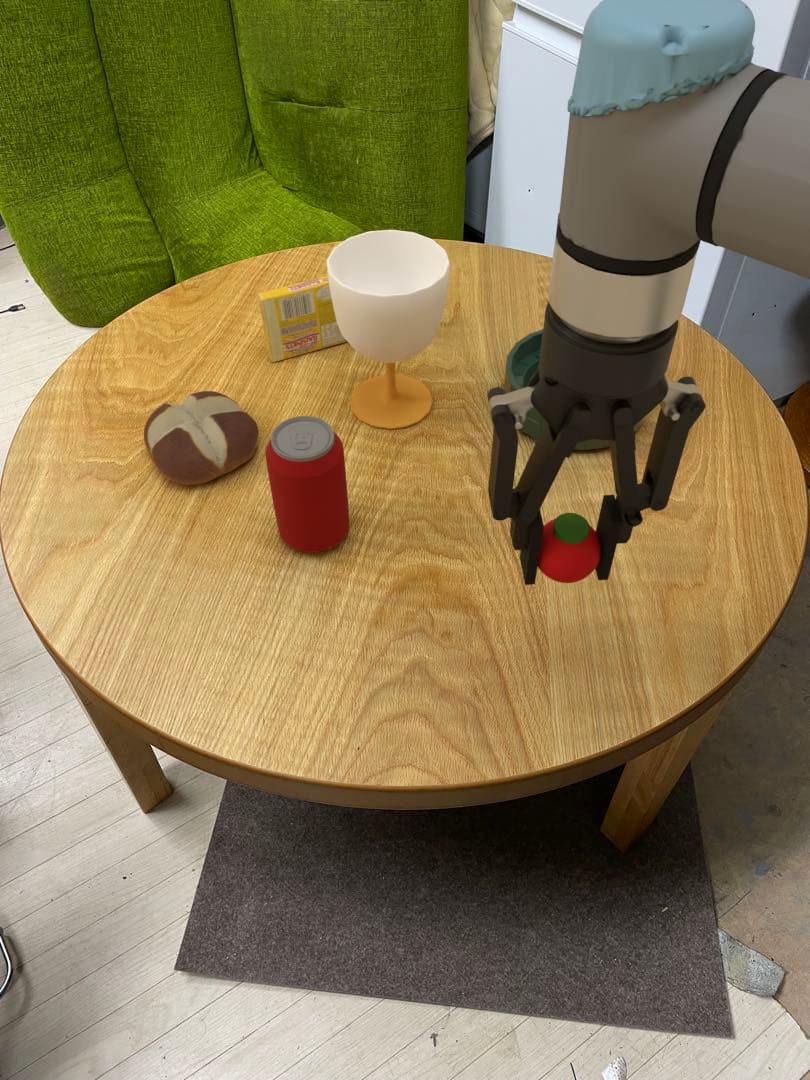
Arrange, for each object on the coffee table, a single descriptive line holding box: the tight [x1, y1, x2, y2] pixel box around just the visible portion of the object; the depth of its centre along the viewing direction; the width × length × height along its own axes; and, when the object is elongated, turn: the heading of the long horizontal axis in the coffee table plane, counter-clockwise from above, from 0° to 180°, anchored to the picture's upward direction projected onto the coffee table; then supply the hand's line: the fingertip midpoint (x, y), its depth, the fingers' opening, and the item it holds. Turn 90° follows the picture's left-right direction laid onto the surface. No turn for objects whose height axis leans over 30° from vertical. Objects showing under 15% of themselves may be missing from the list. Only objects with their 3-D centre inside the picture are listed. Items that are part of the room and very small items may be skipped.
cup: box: [325, 229, 451, 430], centre depth 88 cm, size 12×12×17 cm
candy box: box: [257, 275, 348, 363], centre depth 99 cm, size 16×2×8 cm, turn 115°
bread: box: [143, 390, 259, 486], centre depth 88 cm, size 11×11×5 cm
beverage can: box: [264, 415, 350, 553], centre depth 78 cm, size 7×7×12 cm
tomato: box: [538, 512, 601, 584], centre depth 65 cm, size 5×5×5 cm
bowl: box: [503, 328, 645, 451], centre depth 92 cm, size 15×15×5 cm
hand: (563, 568), depth 67 cm, fingers closed on tomato, 5 cm apart
